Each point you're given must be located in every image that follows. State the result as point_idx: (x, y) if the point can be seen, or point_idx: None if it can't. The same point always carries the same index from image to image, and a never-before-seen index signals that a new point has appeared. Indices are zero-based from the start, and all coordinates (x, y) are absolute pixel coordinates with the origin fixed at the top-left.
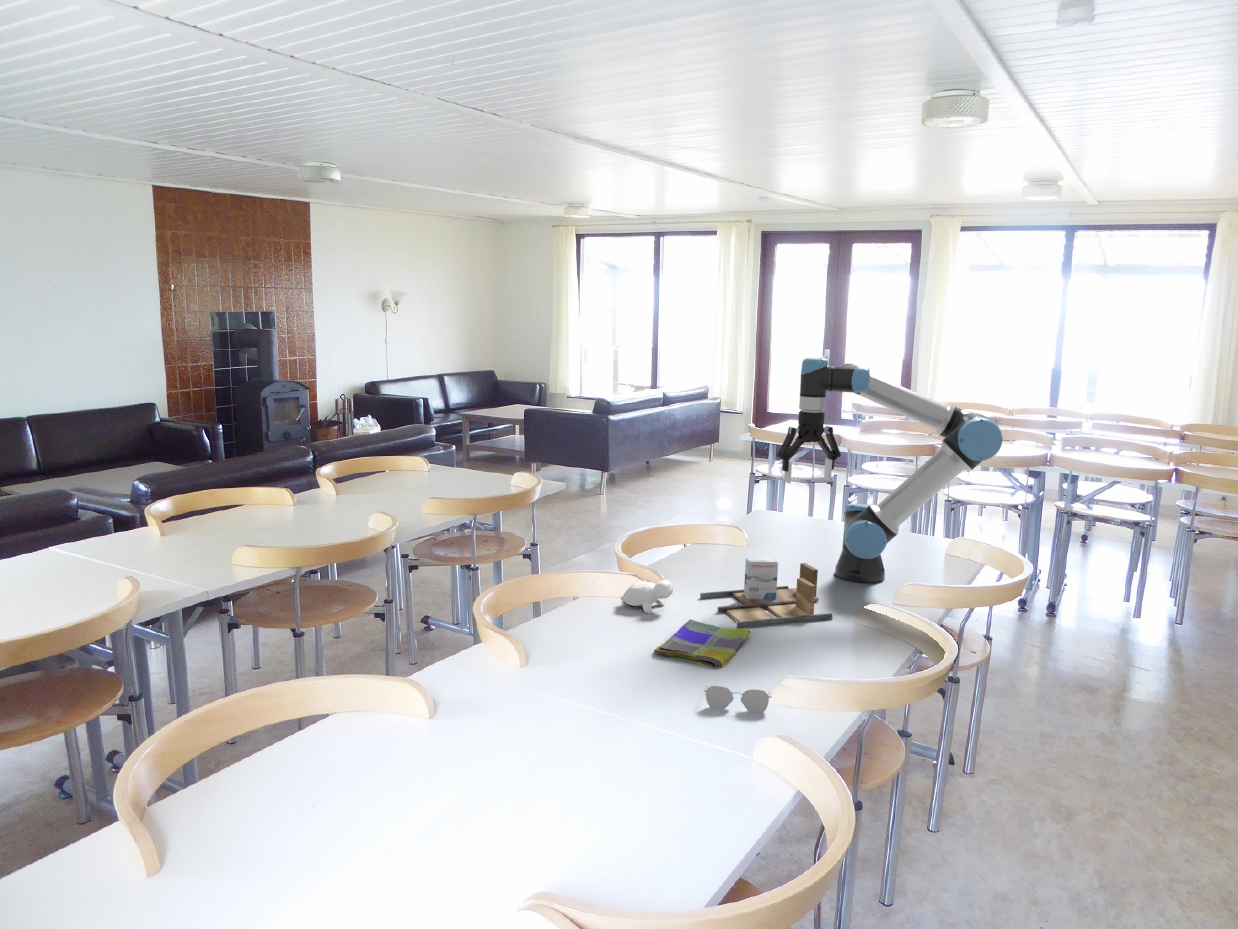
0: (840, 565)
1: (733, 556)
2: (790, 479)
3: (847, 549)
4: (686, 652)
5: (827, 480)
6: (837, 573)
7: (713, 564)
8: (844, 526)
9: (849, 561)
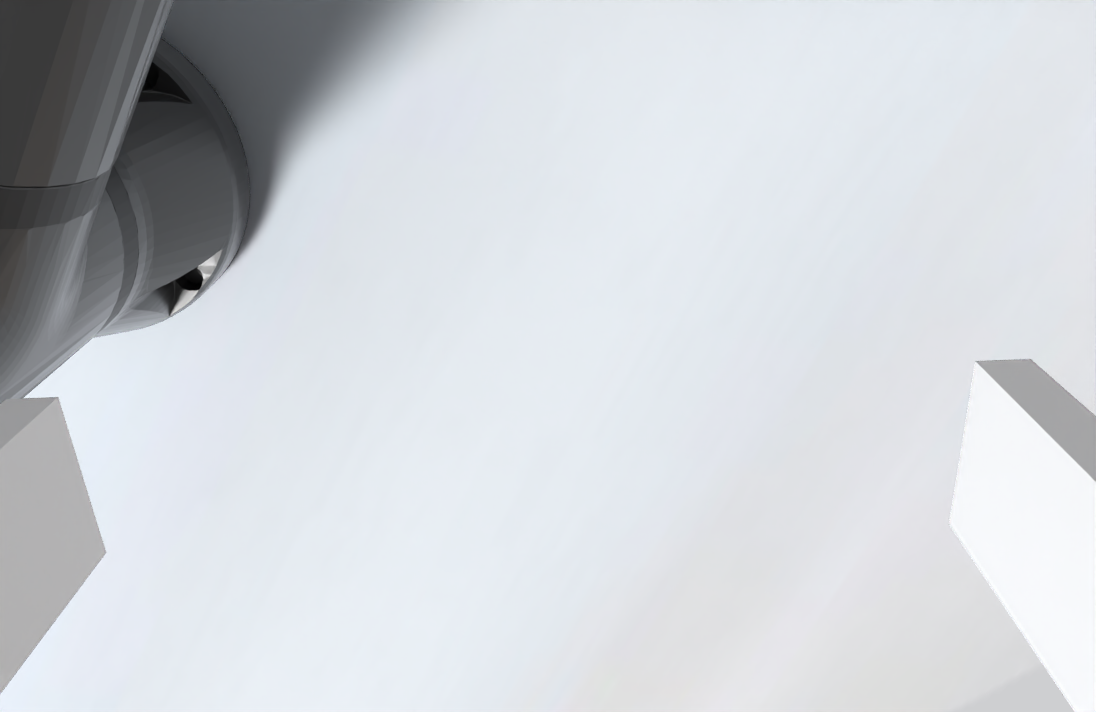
0: (211, 190)
1: (697, 633)
2: (1022, 393)
3: (120, 197)
4: None
5: (66, 443)
6: (243, 190)
7: (884, 531)
8: (66, 254)
9: (149, 134)
